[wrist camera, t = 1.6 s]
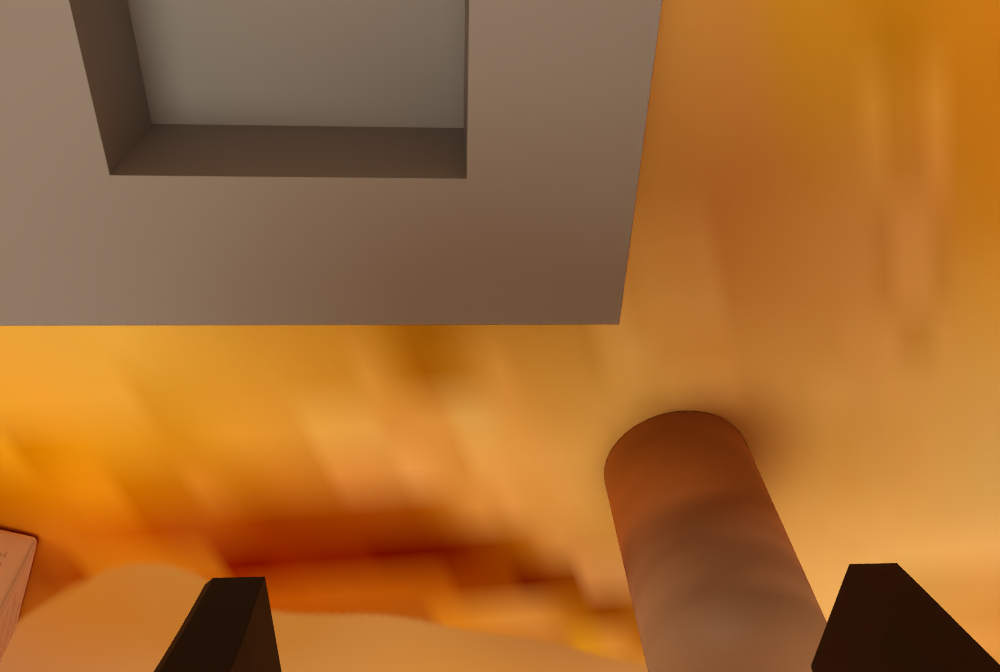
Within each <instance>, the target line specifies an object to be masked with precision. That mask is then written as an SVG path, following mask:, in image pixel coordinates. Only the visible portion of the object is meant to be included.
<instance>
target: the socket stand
mask: <svg viewBox="0 0 1000 672" xmlns="http://www.w3.org/2000/svg"><path fill="white" fill-rule="evenodd" d="M661 5H662V0H0V326H60V325H581V324H619V322H620V314H621V307H622V299H623V291H624V284H625V276H626V269H627V261H628V254H629V246H630V239H631V231H632V224H633V216H634V209H635V201H636V193H637V186H638V178H639V171H640V163H641V156H642V148H643V141H644V133H645V126H646V118H647V110H648V103H649V95H650V88H651V80H652V73H653V65H654V58H655V50H656V43H657V35H658V28H659V20H660V12H661Z"/></svg>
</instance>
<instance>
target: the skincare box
mask: <svg viewBox="0 0 1000 672" xmlns="http://www.w3.org/2000/svg"><path fill="white" fill-rule="evenodd" d="M36 545H37V540H36V538H34V537H32V536H27V535H23V534H18V533H14V532H9V531H5V530H0V661H1V659H2V657H3V655H4V653H5V651H6V648H7V646H8V644H9V642H10V640H11V638H12V635H13V633H14V631H15V629H16V625H17V622H18V619H19V614H20V609H21V605H22V601H23V597H24V594H25V590H26V586H27V582H28V578H29V574H30V570H31V566H32V562H33V558H34V554H35V550H36Z"/></svg>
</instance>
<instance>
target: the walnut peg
mask: <svg viewBox="0 0 1000 672" xmlns="http://www.w3.org/2000/svg"><path fill="white" fill-rule="evenodd" d="M604 479H605V485H606V489H607V493H608V498H609V502H610V507H611V511H612V515H613V520H614V524H615V529H616V533H617V537H618V542H619V546H620V551H621V555H622V559H623V564H624V568H625V572H626V577H627V581H628V586H629V590H630V594H631V599H632V603H633V608H634V612H635V616H636V621H637V625H638V630H639V634H640V638H641V643H642V647H643V651H644V656H645V660H646V665H647V669H648V672H812V669H811V664H812V661H813V659H814V656H815V654H816V651H817V648H818V646H819V643H820V640H821V638H822V635H823V633H824V630H825V627H826V625H827V622H826V620H825V618H824V615H823V613H822V611H821V609H820V606H819V604H818V602H817V600H816V598H815V595H814V593H813V591H812V589H811V586H810V584H809V582H808V580H807V578H806V575H805V573H804V571H803V569H802V566H801V564H800V562H799V560H798V558H797V555H796V553H795V551H794V549H793V546H792V544H791V542H790V540H789V538H788V535H787V533H786V531H785V529H784V526H783V524H782V522H781V520H780V518H779V515H778V513H777V511H776V509H775V506H774V504H773V502H772V500H771V498H770V495H769V493H768V491H767V489H766V487H765V484H764V482H763V480H762V478H761V475H760V473H759V471H758V469H757V467H756V464H755V462H754V460H753V458H752V455H751V453H750V451H749V449H748V447H747V444H746V442H745V440H744V438H743V436H742V435H741V433H740V432H739V431H738V430H737V429H736V427H734V426H733V425H732V424H731V423H729V422H728V421H726V420H724V419H723V418H720V417H718V416H716V415H712V414H709V413H704V412H698V411H677V412H671V413H666V414H662V415H658V416H656V417H653V418H650V419H648V420H646V421H644V422H642V423H640V424H638V425H636V426H635V427H633V428H632V429H630V430H629V431H628V432H627V433H625V434H624V435H623V436H622V437H621V438H620V439H619V440H618V441H617V443H616V444H615V445H614V447H613V448H612V450H611V451H610V453H609V455H608V458H607V460H606V464H605V468H604Z"/></svg>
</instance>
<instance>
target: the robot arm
mask: <svg viewBox="0 0 1000 672" xmlns="http://www.w3.org/2000/svg"><path fill="white" fill-rule="evenodd" d="M811 669H812V672H1000V665H999V664H998V663H997V662H996V661H995V660H994V659H993V658H992V657H991V656H990V655H989V654H988V653H987V652H986V651H985V650H984V649H983V648H982V647H981V646H980V645H979V644H978V643H977V642H976V641H975V640H974V639H973V638H972V637H971V636H970V635H969V634H968V633H967V632H966V631H965V630H964V629H963V628H962V627H961V626H960V625H959V624H958V623H957V622H956V621H955V620H954V619H953V618H952V617H951V616H950V615H949V614H948V613H947V612H946V611H945V610H944V609H943V608H942V607H941V606H940V605H939V604H938V603H937V602H936V601H935V600H934V599H933V598H932V597H931V596H930V595H929V594H928V593H927V592H926V591H925V590H924V589H923V588H922V587H921V586H920V585H919V584H918V583H917V582H916V581H915V580H914V579H913V578H912V577H911V576H910V575H908V574H907V573H906V572H905V571H904V570H903V569H902V568H901V567H900V566H899V565H898V564H897V563H881V564H849V567H848V569H847V572H846V575H845V577H844V580H843V583H842V585H841V588H840V590H839V593H838V596H837V598H836V601H835V604H834V606H833V609H832V611H831V614H830V617H829V619H828V622H827V625H826V627H825V630H824V633H823V635H822V638H821V640H820V643H819V646H818V648H817V651H816V654H815V656H814V659H813V661H812V664H811ZM154 672H281V667H280V661H279V655H278V650H277V644H276V638H275V632H274V626H273V621H272V615H271V609H270V603H269V598H268V592H267V586H266V580H265V577H236V578H213V579H211V580H210V581H209V582H208V583H206V584H205V586H204V587H203V589H202V591H201V593H200V595H199V597H198V598H197V600H196V602H195V604H194V606H193V607H192V609H191V611H190V612H189V614H188V616H187V618H186V619H185V621H184V623H183V625H182V626H181V628H180V630H179V632H178V633H177V635H176V637H175V638H174V640H173V641H172V643H171V645H170V647H169V648H168V650H167V651H166V653H165V655H164V656H163V658H162V660H161V661H160V663H159V664H158V666H157V667H156V669H155V671H154Z"/></svg>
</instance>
